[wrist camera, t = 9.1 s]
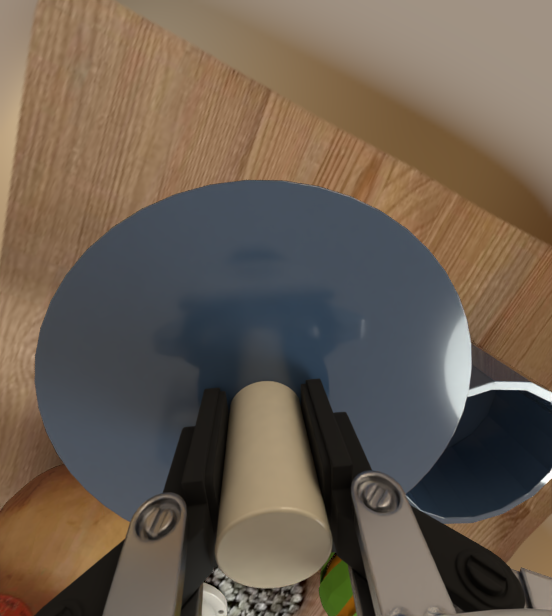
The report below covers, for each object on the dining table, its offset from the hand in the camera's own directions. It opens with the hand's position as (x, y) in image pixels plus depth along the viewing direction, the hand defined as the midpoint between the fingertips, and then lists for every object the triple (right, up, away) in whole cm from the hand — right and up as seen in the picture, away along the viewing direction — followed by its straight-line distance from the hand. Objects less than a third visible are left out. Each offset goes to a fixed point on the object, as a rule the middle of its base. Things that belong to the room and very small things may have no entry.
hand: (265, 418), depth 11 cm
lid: (0, 0, +1) cm, 1 cm away
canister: (+17, -6, +22) cm, 28 cm away
